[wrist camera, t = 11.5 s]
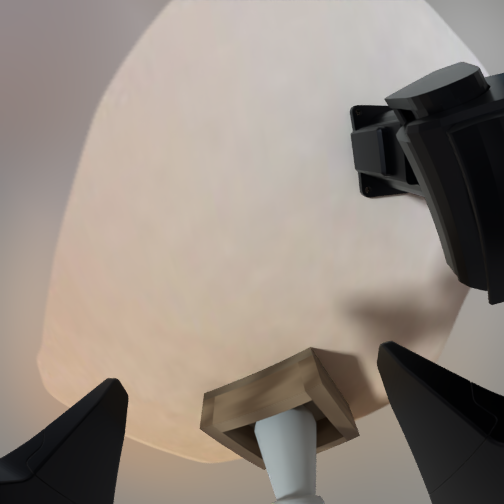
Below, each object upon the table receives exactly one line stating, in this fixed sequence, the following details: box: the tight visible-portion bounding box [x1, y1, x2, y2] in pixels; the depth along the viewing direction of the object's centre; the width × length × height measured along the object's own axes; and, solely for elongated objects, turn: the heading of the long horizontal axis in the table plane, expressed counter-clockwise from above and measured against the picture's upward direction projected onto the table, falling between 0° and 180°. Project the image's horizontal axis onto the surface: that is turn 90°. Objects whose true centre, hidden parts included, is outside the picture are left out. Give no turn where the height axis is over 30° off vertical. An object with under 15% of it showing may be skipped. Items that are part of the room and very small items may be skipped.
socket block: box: [200, 348, 359, 470], centre depth 23 cm, size 11×11×4 cm
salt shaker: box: [255, 405, 325, 504], centre depth 18 cm, size 6×6×13 cm
